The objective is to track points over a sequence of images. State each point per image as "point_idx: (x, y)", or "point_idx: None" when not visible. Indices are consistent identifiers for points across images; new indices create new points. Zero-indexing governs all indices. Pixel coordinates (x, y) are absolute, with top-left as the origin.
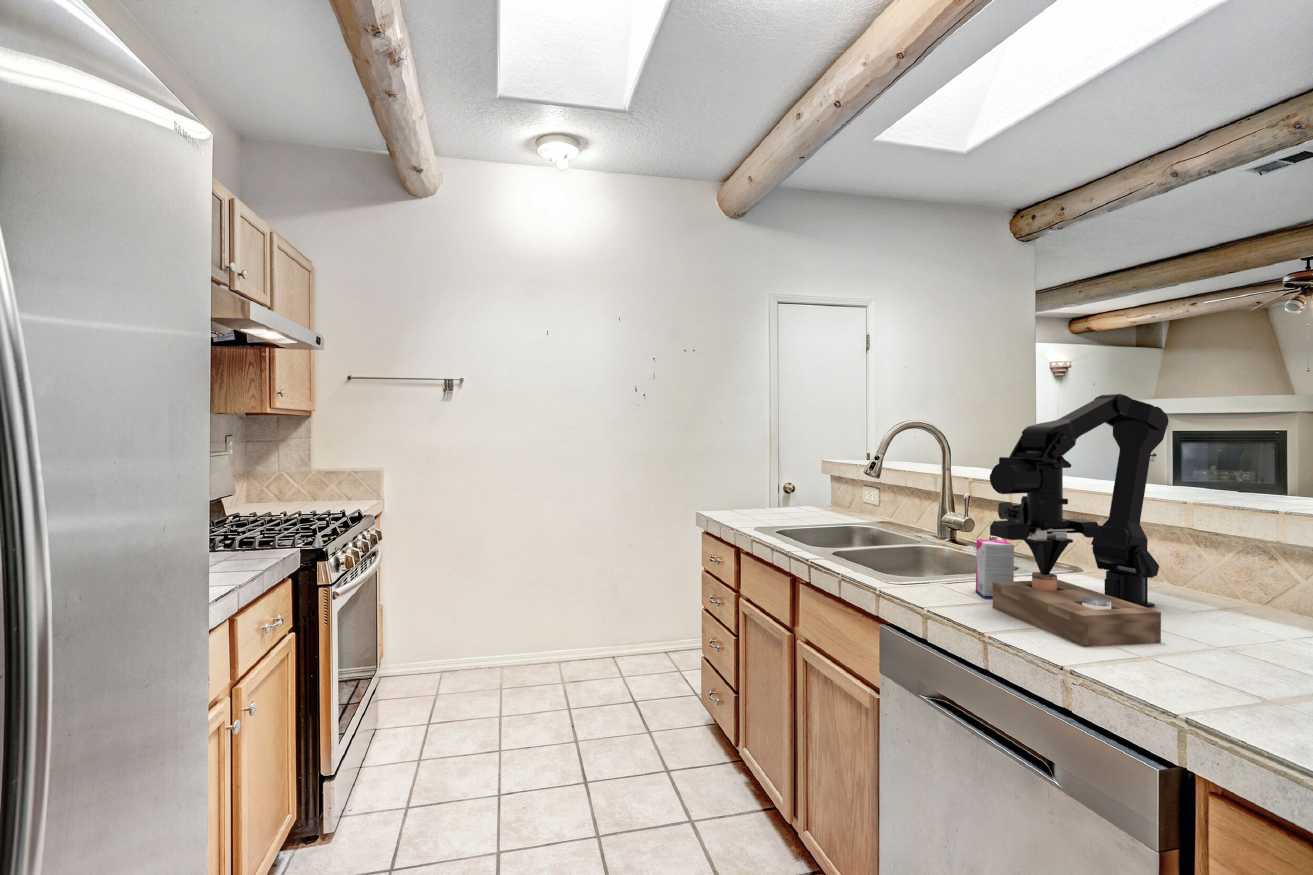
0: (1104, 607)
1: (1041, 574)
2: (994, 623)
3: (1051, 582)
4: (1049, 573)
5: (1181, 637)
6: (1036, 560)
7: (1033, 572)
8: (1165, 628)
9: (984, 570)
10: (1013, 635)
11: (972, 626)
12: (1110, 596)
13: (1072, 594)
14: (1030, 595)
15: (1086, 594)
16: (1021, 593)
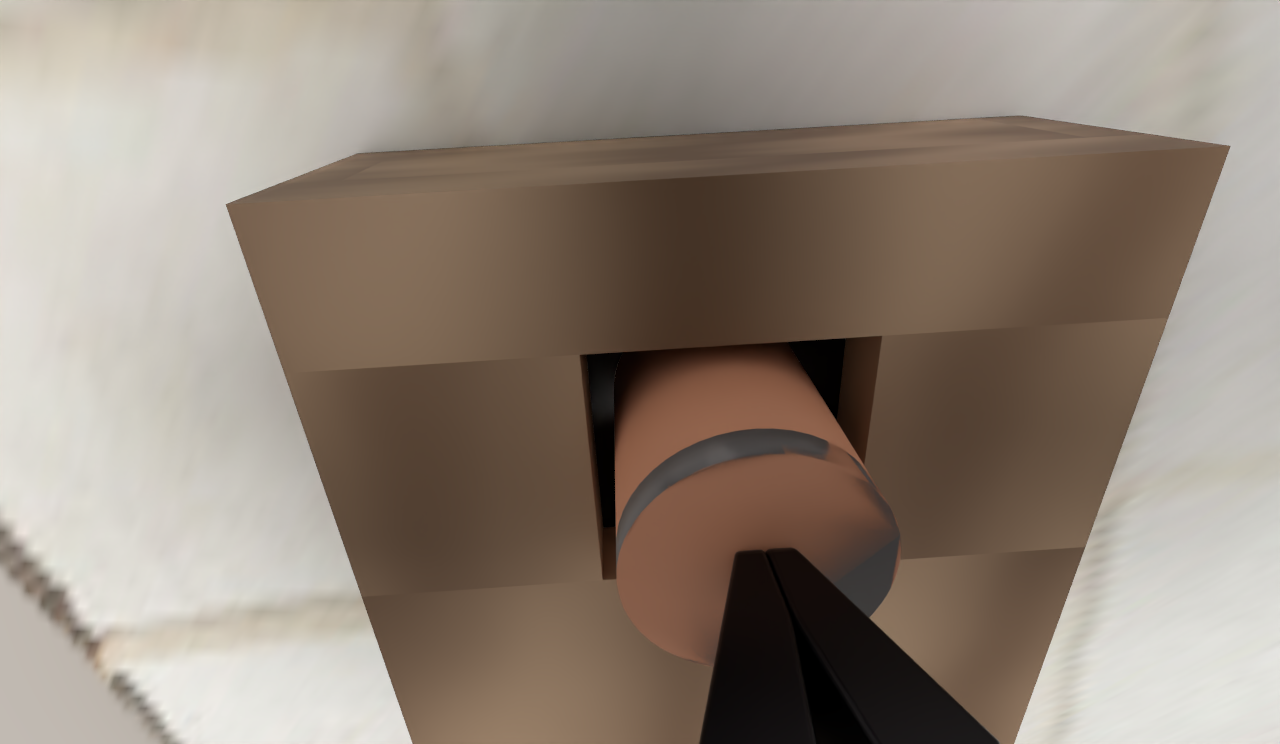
0: None
1: (722, 567)
2: (221, 512)
3: None
4: (870, 532)
5: (1047, 707)
6: (709, 715)
7: (702, 466)
8: (1131, 616)
9: None
10: (258, 672)
11: (56, 553)
12: (1014, 715)
13: None
14: (410, 680)
15: None
16: (370, 618)
